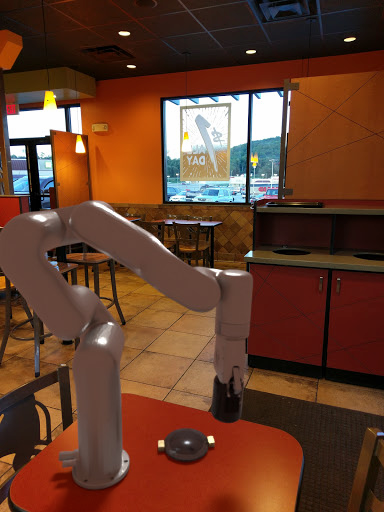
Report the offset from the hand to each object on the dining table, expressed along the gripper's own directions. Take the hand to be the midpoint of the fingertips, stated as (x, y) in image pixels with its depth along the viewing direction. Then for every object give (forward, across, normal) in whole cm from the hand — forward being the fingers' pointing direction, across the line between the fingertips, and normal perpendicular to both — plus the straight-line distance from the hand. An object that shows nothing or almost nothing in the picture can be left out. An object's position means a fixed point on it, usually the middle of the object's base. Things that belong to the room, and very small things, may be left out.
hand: (227, 401), depth 81 cm
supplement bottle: (+4, 0, 0) cm, 4 cm away
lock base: (+16, -7, -8) cm, 19 cm away
